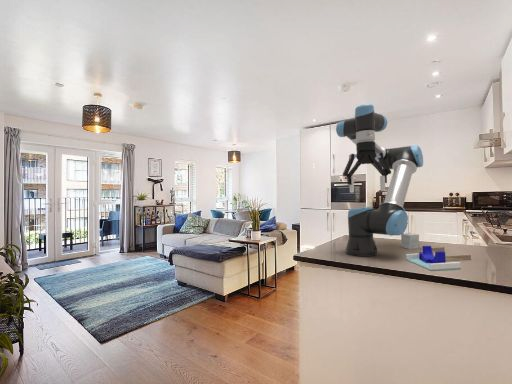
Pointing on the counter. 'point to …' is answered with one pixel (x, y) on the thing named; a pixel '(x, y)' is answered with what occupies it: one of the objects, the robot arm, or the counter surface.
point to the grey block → (410, 240)
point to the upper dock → (452, 257)
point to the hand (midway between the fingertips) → (367, 191)
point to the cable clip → (432, 256)
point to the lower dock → (433, 267)
